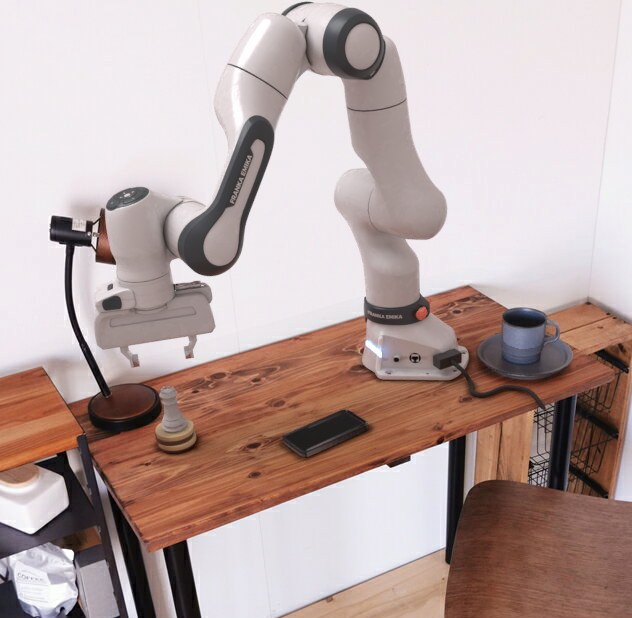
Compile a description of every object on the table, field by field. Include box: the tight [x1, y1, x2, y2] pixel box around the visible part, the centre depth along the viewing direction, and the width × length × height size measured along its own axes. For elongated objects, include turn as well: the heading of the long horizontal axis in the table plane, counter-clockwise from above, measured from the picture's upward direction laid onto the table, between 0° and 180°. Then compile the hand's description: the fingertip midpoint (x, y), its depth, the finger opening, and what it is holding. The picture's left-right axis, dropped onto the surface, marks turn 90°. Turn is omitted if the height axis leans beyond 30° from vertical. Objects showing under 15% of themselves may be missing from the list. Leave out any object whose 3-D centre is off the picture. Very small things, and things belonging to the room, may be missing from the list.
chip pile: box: [154, 417, 197, 454], centre depth 168 cm, size 8×8×4 cm
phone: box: [282, 408, 369, 458], centre depth 168 cm, size 8×1×15 cm
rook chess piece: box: [158, 385, 187, 433], centre depth 164 cm, size 4×4×8 cm
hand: (162, 361), depth 159 cm, fingers open, 8 cm apart
